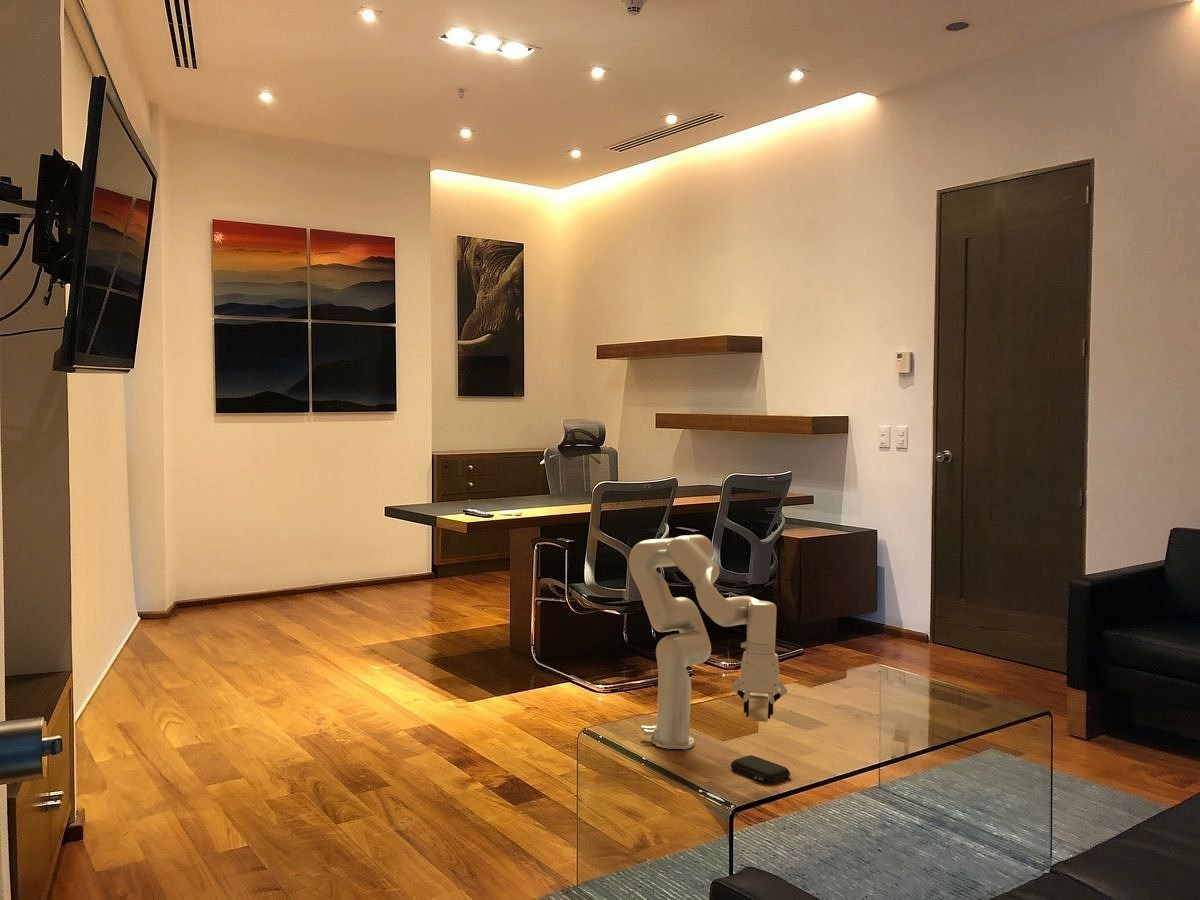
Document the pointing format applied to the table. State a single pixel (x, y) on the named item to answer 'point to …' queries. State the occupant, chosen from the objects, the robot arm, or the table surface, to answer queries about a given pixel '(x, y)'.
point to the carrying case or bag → (760, 769)
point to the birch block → (758, 707)
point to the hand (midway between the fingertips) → (758, 715)
